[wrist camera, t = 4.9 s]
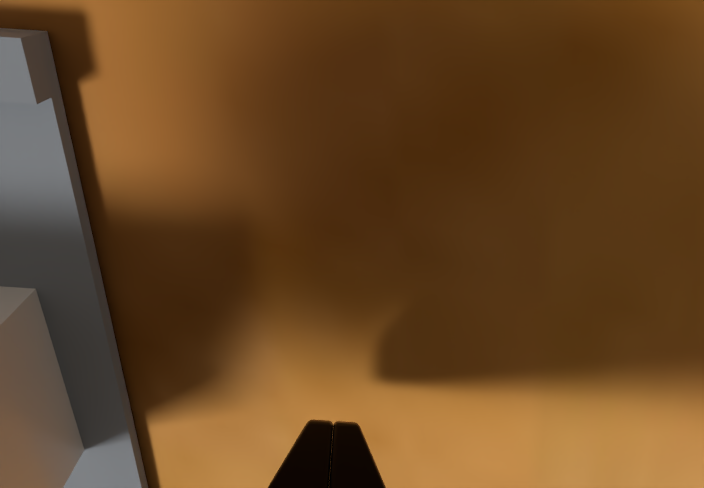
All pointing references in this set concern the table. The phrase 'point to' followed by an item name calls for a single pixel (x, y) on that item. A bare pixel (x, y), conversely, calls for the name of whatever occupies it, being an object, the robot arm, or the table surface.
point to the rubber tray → (61, 259)
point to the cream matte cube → (32, 399)
